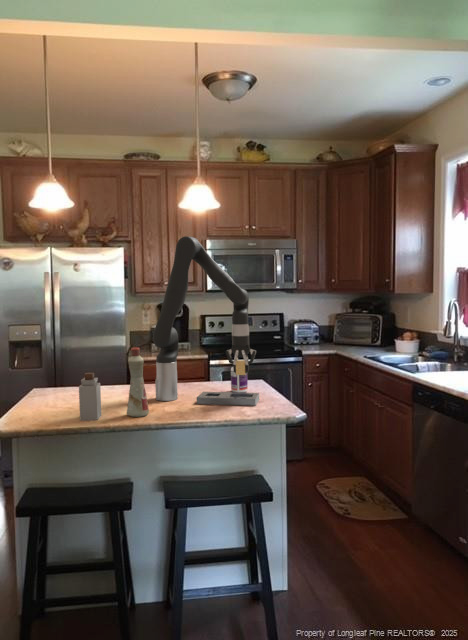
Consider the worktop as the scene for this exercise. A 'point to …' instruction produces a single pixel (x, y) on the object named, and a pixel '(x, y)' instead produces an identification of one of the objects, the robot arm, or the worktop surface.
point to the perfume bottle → (89, 398)
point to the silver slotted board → (228, 398)
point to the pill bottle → (238, 382)
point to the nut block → (240, 367)
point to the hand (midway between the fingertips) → (241, 372)
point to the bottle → (137, 386)
